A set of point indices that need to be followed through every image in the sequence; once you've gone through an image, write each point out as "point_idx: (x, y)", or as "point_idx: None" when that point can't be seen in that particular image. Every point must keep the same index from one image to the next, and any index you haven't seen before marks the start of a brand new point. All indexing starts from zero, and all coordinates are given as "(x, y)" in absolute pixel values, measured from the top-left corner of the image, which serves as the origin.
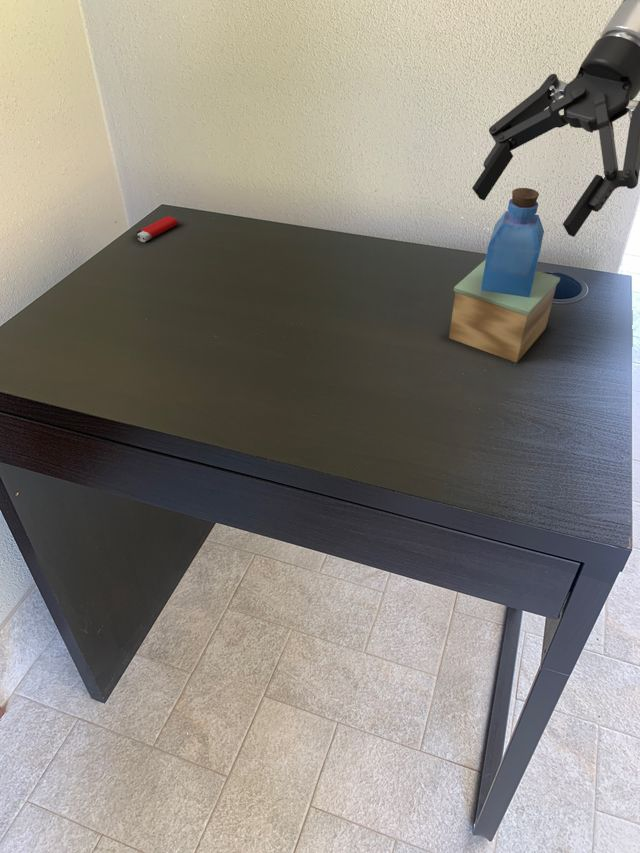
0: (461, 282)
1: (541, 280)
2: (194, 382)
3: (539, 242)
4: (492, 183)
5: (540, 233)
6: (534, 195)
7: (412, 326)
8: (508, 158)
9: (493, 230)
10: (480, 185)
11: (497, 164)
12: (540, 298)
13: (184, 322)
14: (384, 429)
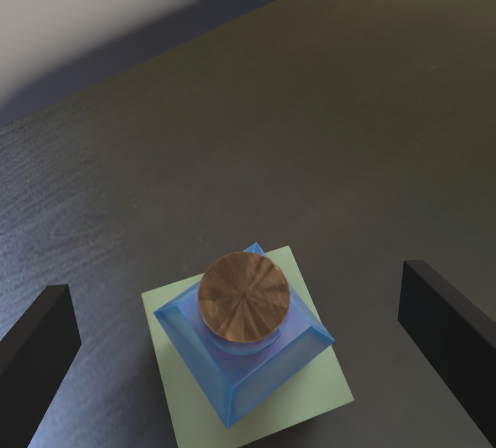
0: (294, 267)
1: (203, 416)
2: (361, 23)
3: (171, 331)
4: (424, 340)
5: (197, 367)
6: (210, 304)
7: (334, 260)
8: (491, 422)
9: (306, 306)
10: (413, 274)
11: (462, 343)
12: (156, 350)
13: (479, 55)
14: (183, 110)
